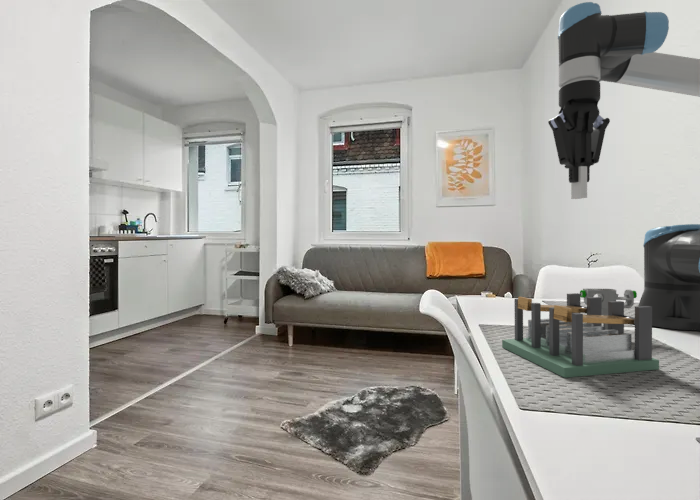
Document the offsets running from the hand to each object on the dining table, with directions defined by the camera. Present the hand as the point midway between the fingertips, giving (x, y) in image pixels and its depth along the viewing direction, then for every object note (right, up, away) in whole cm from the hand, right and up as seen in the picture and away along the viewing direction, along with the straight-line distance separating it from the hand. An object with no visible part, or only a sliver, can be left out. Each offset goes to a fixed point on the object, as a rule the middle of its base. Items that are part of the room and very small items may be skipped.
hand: (579, 198), depth 82 cm
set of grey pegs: (-8, -28, -13) cm, 32 cm away
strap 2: (-8, -23, -18) cm, 30 cm away
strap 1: (-9, -23, -8) cm, 26 cm away
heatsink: (-8, -28, -13) cm, 32 cm away
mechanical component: (+7, -30, +1) cm, 30 cm away
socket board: (-9, -30, -13) cm, 34 cm away
